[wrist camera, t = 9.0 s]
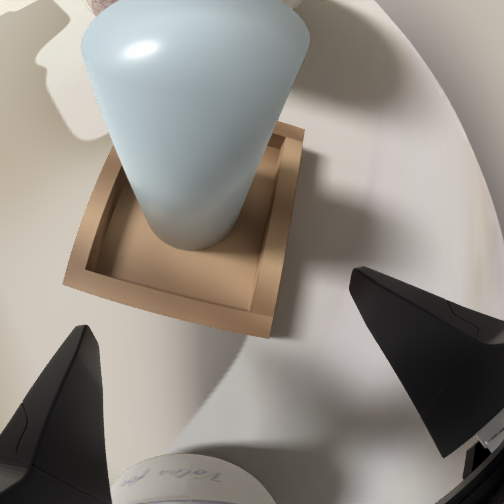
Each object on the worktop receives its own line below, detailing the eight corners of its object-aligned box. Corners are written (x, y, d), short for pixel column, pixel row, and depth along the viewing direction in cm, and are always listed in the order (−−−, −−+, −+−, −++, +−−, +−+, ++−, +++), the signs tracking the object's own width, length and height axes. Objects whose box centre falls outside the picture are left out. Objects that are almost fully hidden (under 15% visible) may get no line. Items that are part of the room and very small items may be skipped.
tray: (259, 336, 18) (268, 338, 15) (79, 289, 16) (62, 284, 14) (293, 148, 21) (304, 129, 19) (145, 114, 20) (141, 92, 17)
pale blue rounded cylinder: (258, 217, 18) (354, 56, 6) (177, 269, 17) (131, 138, 4) (206, 148, 19) (229, -28, 7) (129, 192, 17) (63, 21, 5)
